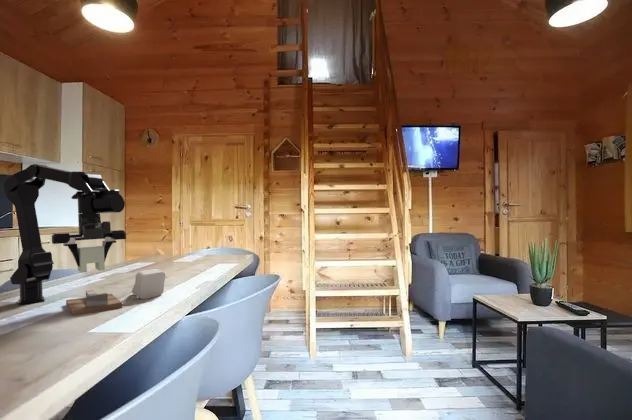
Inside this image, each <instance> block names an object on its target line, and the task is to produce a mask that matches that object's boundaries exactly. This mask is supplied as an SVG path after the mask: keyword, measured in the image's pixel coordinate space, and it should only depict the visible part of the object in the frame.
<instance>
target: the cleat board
mask: <svg viewBox="0 0 632 420" xmlns="http://www.w3.org/2000/svg"><path fill="white" fill-rule="evenodd" d="M65 302H66V303H65V306H66V308H67V309H68V311H69V312H70V316H72V317H74V316H80V315H86V314H92V313H98V312H104V311H110V310H115V309H116V310H117V309H122V308H123V302H122V301H121V300H119V298H117V297H116V296H114V294H113V293H107V292H103V293H97V292H96V291H95V290H93V289H92V290H85V297H77V298H71V299H66V300H65Z"/></svg>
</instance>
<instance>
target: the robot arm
mask: <svg viewBox="0 0 632 420" xmlns="http://www.w3.org/2000/svg"><path fill="white" fill-rule="evenodd" d="M47 180H49V181H53V182H58V183H62V184H65V185H68V187H70V188H72V189H74V190H76V192H75V194H73V195H72V196H71V199H72V200H77V213H78V214H77V216H78V234H70V233H69V232H61V233H60V232H59V233H56V232H55V233H53V234H51V244H53V245H57V244H60V245H61V244H63V246H64V247H67V248H68V250H69V251H70V252H71V254H72V256H73V260H74V261H75V263H76V265H77V268H78V267H79V266H80V261H79V255H78V249H77V247H78V243H76V241H86V240H102V245H101V246H103V247H104V263H106V258H107V255H108V252H109V250H110V248H111V247H112V245H113V244H114V243H115V244H116V243H117V240H126V239H127V233H126V231H125V230H123V229H122V230H121V229H115V230H111V221H110V220H109V221H101V219H102V218H101V214H111V213H113V214H115V213H117V214H118V213H121V212H122V211H123V210H124V209H125V202H126V201H125V200H124V198H123V196H122V195H121V193H120V189H109V187H108V185H107V184H106V182H104V180H103V177H102V175H101V174H100V173H97V172H87V171H69V170H65V169H60V168H55V167H51V166H48V165H45V164H37V163H34V164H33V163H32V164H30V165H29V166H27V167H26V168H25V169H22V170H20V171H17V172H15V173H13V174H12V175H11V176H9V177H8V178H7V179H6V180H5V181H4V183H3V189H4V192H5V195H6V198H7V199H8V201H10V203H11V204H12V205H14V208H15V209H14V210H15V213H16V214H15V215H16V220H17V226H18V232H19V233H18V234H19V236H20V237H19V238H20V243H21V249H22V250H21V253H20V255H19V257H18V260H17V269H16V270H15V271H14V272H13V274H12V275H11V276H10V278H9V279H10V283H11V284H12V285H19V299H17V301H18V302H17V303H18V305H24V304H32V303H39V302H45V297H44V296H43V294H44V293H43V281H47V280H50V278H51V273H52V271H53V265H54V264H55V263H54V261H53V254H52V251H46V250H45V248H43V246H42V245H43V244H42V239H41V234H40V233H41V232H40V229H39V228H40V227H39V221H38V217H37V216H38V215H37V211H36V210H37V209H36V202H37V201H38V198H39V196H40V192H39V191H40V189H41V188H43V187H45V184H46V181H47Z"/></svg>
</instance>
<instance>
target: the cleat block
mask: <svg viewBox="0 0 632 420" xmlns="http://www.w3.org/2000/svg"><path fill="white" fill-rule="evenodd" d="M77 249H78V255H79V261H80V266H79V267H78V266H77V271H78V272H80V273H82V274H83V273H87V272H88V266H87V264H94V265H95V267H94V268H95V269H96V270H97V271H100V272H101V271H105V269H106V268H105V265H106V264H105V263H106V262H104V247H103V246H102V245H89V246H79V247H78V246H77Z"/></svg>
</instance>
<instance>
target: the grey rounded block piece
mask: <svg viewBox="0 0 632 420" xmlns="http://www.w3.org/2000/svg"><path fill="white" fill-rule="evenodd" d="M165 281H166V273H165V272H164V271H162V270H161V269H159V268H153V269H147V270H145V269H143V270H140V271H138V272H137V273H136V274H135V280H134V284H133V287H132V289H131V292H132V294H133V295H135V296H136V297H138V298H139V299H141V300H146V299H151V298H154V297H159V295H160V296H161V295H162V294H163V293H164V290H165V289H164V288H165ZM145 298H146V299H145Z"/></svg>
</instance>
